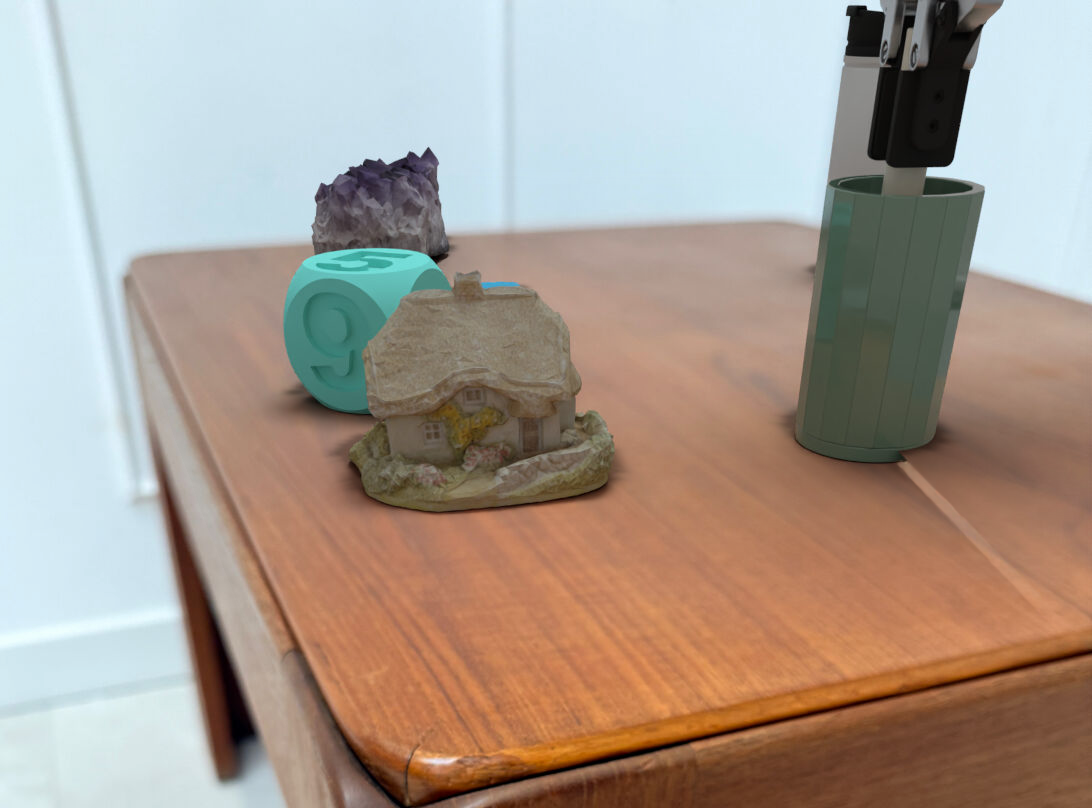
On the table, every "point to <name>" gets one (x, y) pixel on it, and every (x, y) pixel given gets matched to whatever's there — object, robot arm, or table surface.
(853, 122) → the travel mug
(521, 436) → the ceramic model
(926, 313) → the green pencil cup
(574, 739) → the table surface
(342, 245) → the geode
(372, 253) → the decorative dice
